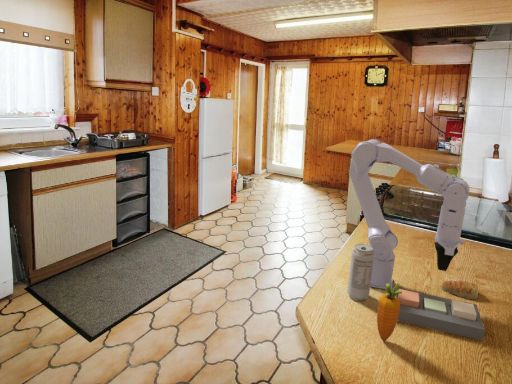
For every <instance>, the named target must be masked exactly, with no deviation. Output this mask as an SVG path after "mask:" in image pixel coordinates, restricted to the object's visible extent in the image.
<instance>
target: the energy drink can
mask: <svg viewBox="0 0 512 384" xmlns="http://www.w3.org/2000/svg"><path fill="white" fill-rule="evenodd" d="M373 261H374V253H373V248H372V247H371V246H370V244H364V243H357V244H355V245H354V247H353V249H352V250H351V255H350V265H349V273H348V283H347V290H346V291H347V294H348V295H349V296H348V297H349V298H350V299H352V300H355V301H360V302H361V301H366V300H367V298H369V295H370V290H371V289H370V288H371V286H370V284H371V276H372V269H373Z"/></svg>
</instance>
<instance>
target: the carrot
mask: <svg viewBox="0 0 512 384" xmlns="http://www.w3.org/2000/svg"><path fill="white" fill-rule="evenodd" d="M393 287H394V290H393V291H392V290H391V287H390V285H389V284H386V289H385V292H386V293H385V294H382V295H379V297H378V303H377V313H376V314H377V315H376V322H377V325H376V326H377V330H378V335H379V337H380V339H381V340H382V341H383V342H386V341H387V340H388V339H389V338H390V337H391V336H392V335H393V332H394V331H395V329H396V325H397V323H398V321H397V320H398V315H399V310H400V300H399V299H398V298H396V297H395V296H396V295H397V294H399V293H402V291H400V290H399V291H396V290H397V288H399V287H400V283H396V284H395V286H393Z"/></svg>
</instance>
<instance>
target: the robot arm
mask: <svg viewBox="0 0 512 384" xmlns="http://www.w3.org/2000/svg"><path fill="white" fill-rule="evenodd" d="M350 156H351V161H350V165H349V171H348V173H349V177H350V180H351V183H352V186H353V189H354V191H355V194H356V197H357V200H358V202H359V205H360V208H361V211H362V213H363V216H364V219H365V222H366V225H367V228H368V236H367V237H368V238H367V239H368V241H369V246H371V247H372V248H373V253H374V261H373V269H372V276H371V284H370V287H372V288H377V289H381V290H386V284H389V285H390V287H391V291H392V289H393V284H394V283H393V281H394V280H393V279H394V278H393V272H394V267H395V266H394V265H395V259H396V255H395V252H394V250H395V249H396V248H397V246H398V244H399V239H398V237H397V235H396V234H395V233H394V232H393V231H392V229H391V226H390V225H389V224H388V223H387V222H386V220H385V217H384V215H383V212H382V209H381V206H380V203H379V200H378V197H377V195H376V192H375V189H374V187H373V183H372V181H371V178H370V175H369V172H370V171H371V170H372V167H373V165H374V164H375V163H388V162H389V163H390V164H391V163H392V164H393V165H395V166H397V167H399V168H401V169H403V170H404V171H407V172H408V173H411V174H413V175H415V177H416V181H417V182H418V183H419V184H421V185H423V186H425V187H426V188H428V189H430V190H431V191H433V192H435V193H437V194H438V195H442V197H443V200H442V205H441V206H440V207H441V208H440V213H439V218H438V225H437V230H436V234H435V237H434V240H435V242H434V247H435V251H436V265H437V266H436V267H437V270H438V271H442V272H446V271H447V270H448V268H449V266H450V264H451V262H452V260H453V259H454V257H455V256H456V255H457V254H458V253H459V249H458V246H459V245H464V244H465V241H464V240H463V239H461V234H462V229H463V225H464V221H465V220H464V219H465V214H466V206H467V200H468V199H469V195H470V185H469V184H468V182H467V181H466V180H464V179H463V178H462V177H457V176H456V175H455V174H449V173H448V172H445V171H444V170H442V169H440V166H439V165H438V164H434V165H433V164H431V163H426V164H421V163H420V162H418V161H417V160H414V159H413V158H411V157H410V156H409V155H406V154H404V152H402V151H400V150H398V149H396V148H394V147H393V146H391V145H390V144H388V143H387V142H382V141H380V140H379V139H376V138H371V139H368V140H365V141H361V142H359V143H358V144H356V146H355V147H354V149H353V150H352V152H351V153H350Z"/></svg>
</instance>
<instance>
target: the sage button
mask: <svg viewBox="0 0 512 384" xmlns="http://www.w3.org/2000/svg"><path fill="white" fill-rule="evenodd" d="M423 309H424V310H428V311H433V312H437V313H442V314H446V312H447V311H446V306H445V302H442V301H437V300H433V299H428V298H424V301H423Z"/></svg>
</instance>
